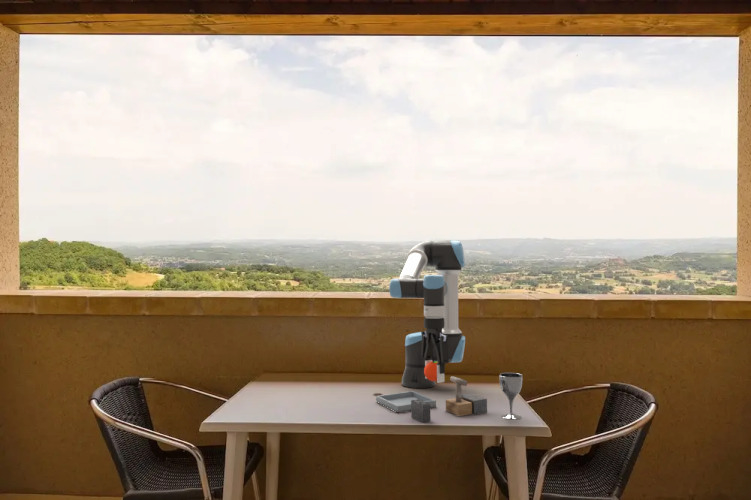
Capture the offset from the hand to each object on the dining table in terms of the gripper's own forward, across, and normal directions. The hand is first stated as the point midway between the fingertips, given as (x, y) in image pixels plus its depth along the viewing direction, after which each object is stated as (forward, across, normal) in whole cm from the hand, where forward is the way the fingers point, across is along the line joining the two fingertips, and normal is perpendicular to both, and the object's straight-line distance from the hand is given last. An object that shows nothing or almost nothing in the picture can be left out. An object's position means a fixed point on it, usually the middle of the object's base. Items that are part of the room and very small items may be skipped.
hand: (434, 380), depth 198 cm
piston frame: (+13, +2, +5) cm, 14 cm away
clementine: (+1, 0, 0) cm, 1 cm away
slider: (+13, +2, +9) cm, 16 cm away
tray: (+13, -17, -2) cm, 21 cm away
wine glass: (+13, +16, +22) cm, 30 cm away
